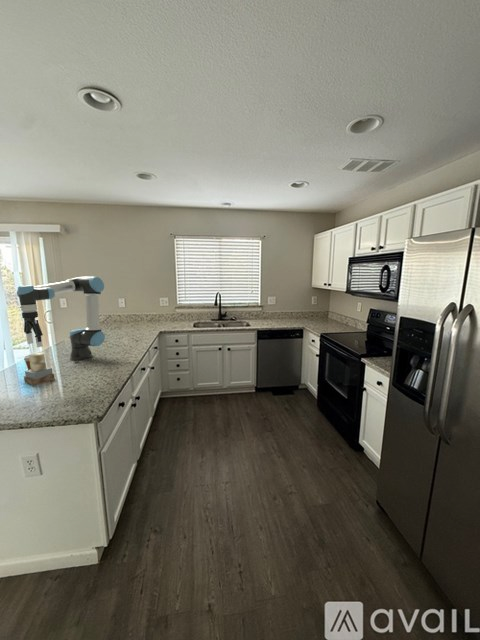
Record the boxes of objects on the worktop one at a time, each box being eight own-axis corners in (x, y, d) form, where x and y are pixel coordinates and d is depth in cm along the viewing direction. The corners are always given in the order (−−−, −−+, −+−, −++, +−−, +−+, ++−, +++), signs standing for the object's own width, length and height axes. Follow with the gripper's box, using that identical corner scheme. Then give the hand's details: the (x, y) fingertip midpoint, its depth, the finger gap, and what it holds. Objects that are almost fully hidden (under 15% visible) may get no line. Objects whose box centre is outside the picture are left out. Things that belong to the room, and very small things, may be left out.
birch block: (42, 367, 168) (40, 352, 166) (46, 368, 165) (44, 353, 163) (30, 370, 163) (28, 354, 161) (35, 371, 160) (32, 356, 158)
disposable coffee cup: (29, 371, 181) (26, 354, 179) (45, 369, 185) (43, 353, 182) (23, 376, 173) (20, 359, 170) (41, 374, 176) (38, 357, 174)
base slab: (46, 376, 174) (45, 370, 173) (54, 379, 168) (54, 374, 167) (24, 382, 164) (23, 376, 163) (32, 386, 158) (31, 380, 157)
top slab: (42, 371, 171) (42, 365, 171) (52, 373, 167) (51, 367, 167) (25, 377, 162) (24, 371, 162) (35, 379, 158) (34, 373, 158)
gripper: (13, 310, 161) (19, 343, 165) (30, 314, 147) (36, 349, 151) (28, 309, 167) (33, 341, 171) (45, 312, 154) (51, 346, 158)
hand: (35, 345), depth 161 cm, fingers open, 13 cm apart
